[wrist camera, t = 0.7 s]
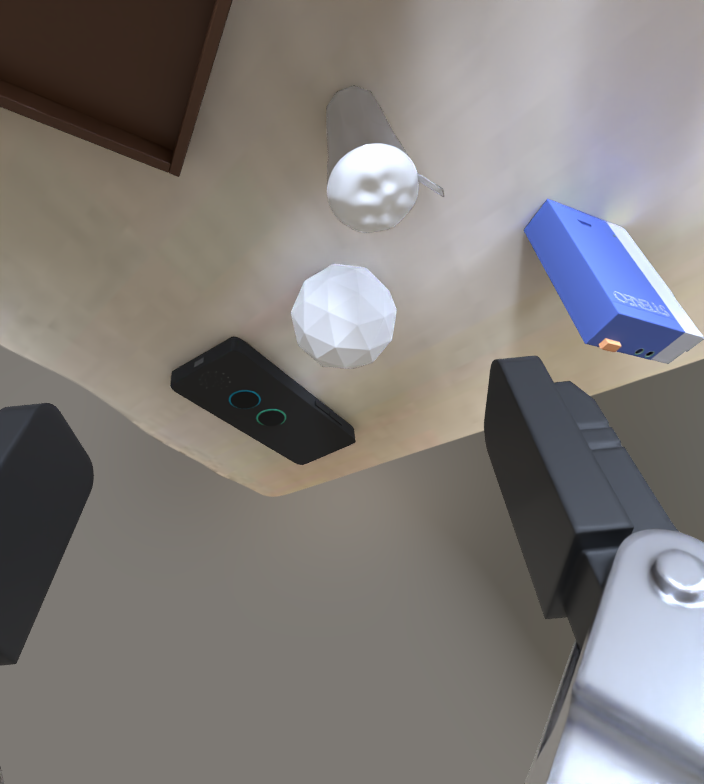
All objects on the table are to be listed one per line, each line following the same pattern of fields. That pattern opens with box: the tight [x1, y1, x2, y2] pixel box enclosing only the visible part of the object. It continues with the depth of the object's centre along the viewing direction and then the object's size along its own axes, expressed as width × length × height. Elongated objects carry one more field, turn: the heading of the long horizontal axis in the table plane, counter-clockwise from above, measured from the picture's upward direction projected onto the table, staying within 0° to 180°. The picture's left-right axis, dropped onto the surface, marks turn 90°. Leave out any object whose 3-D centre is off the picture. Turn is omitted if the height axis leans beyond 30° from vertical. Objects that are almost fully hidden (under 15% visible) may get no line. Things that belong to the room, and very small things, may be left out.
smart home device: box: [170, 337, 356, 465], centre depth 51 cm, size 8×2×20 cm
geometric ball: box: [291, 264, 397, 369], centre depth 37 cm, size 8×8×8 cm
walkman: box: [524, 199, 704, 364], centre depth 35 cm, size 8×3×12 cm, turn 67°
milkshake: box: [326, 85, 444, 233], centre depth 26 cm, size 4×5×10 cm
